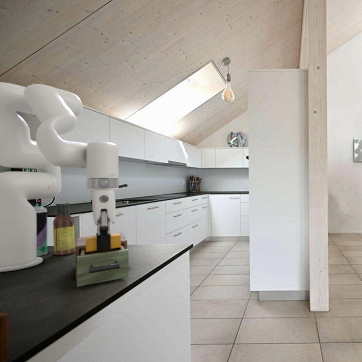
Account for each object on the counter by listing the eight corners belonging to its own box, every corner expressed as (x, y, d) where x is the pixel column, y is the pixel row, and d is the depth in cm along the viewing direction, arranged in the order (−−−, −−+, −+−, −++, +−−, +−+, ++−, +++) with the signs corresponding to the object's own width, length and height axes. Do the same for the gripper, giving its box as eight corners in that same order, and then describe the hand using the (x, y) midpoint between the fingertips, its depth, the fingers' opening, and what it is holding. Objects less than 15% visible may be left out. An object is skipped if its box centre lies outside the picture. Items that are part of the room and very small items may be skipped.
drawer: (130, 282, 70) (130, 253, 70) (76, 293, 63) (76, 261, 63) (123, 264, 84) (123, 241, 84) (78, 272, 77) (78, 246, 77)
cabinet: (127, 270, 82) (127, 240, 82) (75, 279, 74) (75, 246, 74) (122, 259, 93) (122, 232, 93) (77, 266, 85) (77, 237, 85)
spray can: (32, 257, 95) (32, 203, 95) (23, 255, 97) (23, 203, 97) (50, 253, 101) (50, 202, 101) (42, 252, 102) (42, 202, 102)
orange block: (85, 251, 71) (85, 239, 71) (86, 248, 74) (86, 236, 74) (120, 247, 76) (120, 235, 76) (119, 244, 79) (119, 232, 79)
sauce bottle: (79, 251, 103) (79, 202, 103) (64, 256, 97) (63, 203, 97) (64, 251, 104) (64, 202, 104) (48, 255, 98) (48, 203, 98)
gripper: (121, 184, 71) (121, 251, 71) (116, 184, 84) (116, 240, 84) (86, 185, 66) (86, 256, 66) (86, 184, 79) (87, 243, 79)
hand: (103, 246), depth 75 cm, fingers closed on orange block, 4 cm apart
